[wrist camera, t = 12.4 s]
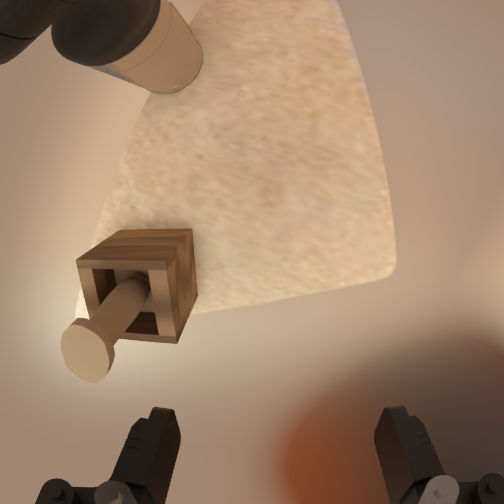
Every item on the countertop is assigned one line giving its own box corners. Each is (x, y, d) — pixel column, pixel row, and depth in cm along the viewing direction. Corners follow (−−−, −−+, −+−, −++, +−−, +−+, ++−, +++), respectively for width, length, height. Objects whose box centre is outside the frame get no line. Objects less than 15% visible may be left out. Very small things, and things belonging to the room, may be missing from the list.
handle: (166, 270, 36) (114, 343, 22) (150, 311, 38) (103, 390, 24) (130, 253, 35) (64, 315, 21) (118, 295, 37) (59, 365, 23)
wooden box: (119, 230, 42) (75, 259, 31) (192, 228, 41) (165, 260, 30) (129, 293, 45) (94, 335, 34) (197, 295, 45) (177, 343, 33)
